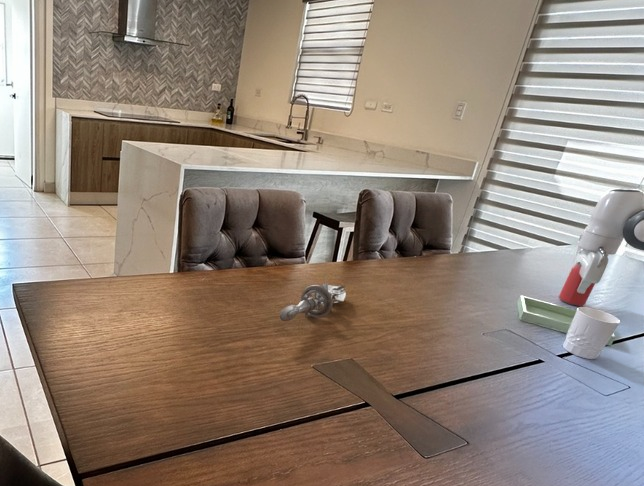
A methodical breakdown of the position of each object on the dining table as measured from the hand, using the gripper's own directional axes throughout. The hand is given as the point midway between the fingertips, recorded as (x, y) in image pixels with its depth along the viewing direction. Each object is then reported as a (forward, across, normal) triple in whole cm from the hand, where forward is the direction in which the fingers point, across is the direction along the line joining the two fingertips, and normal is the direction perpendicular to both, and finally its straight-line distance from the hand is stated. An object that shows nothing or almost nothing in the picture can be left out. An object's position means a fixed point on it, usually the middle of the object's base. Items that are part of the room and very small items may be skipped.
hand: (577, 287), depth 140 cm
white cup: (+5, -39, +3) cm, 39 cm away
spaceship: (+5, -68, +60) cm, 90 cm away
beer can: (+5, 0, 0) cm, 5 cm away
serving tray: (+5, -22, +5) cm, 23 cm away
